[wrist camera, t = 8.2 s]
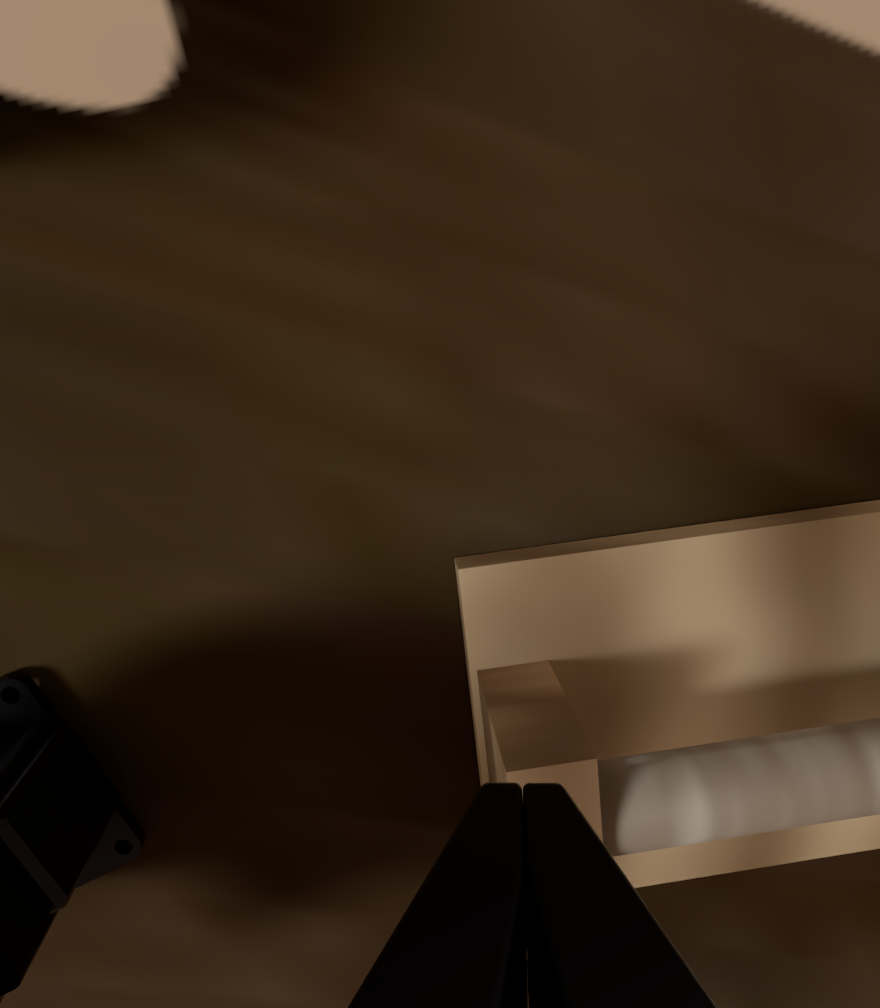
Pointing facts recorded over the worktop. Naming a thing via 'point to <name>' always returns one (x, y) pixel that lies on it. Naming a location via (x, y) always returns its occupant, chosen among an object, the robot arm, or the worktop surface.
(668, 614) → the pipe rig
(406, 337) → the worktop surface
